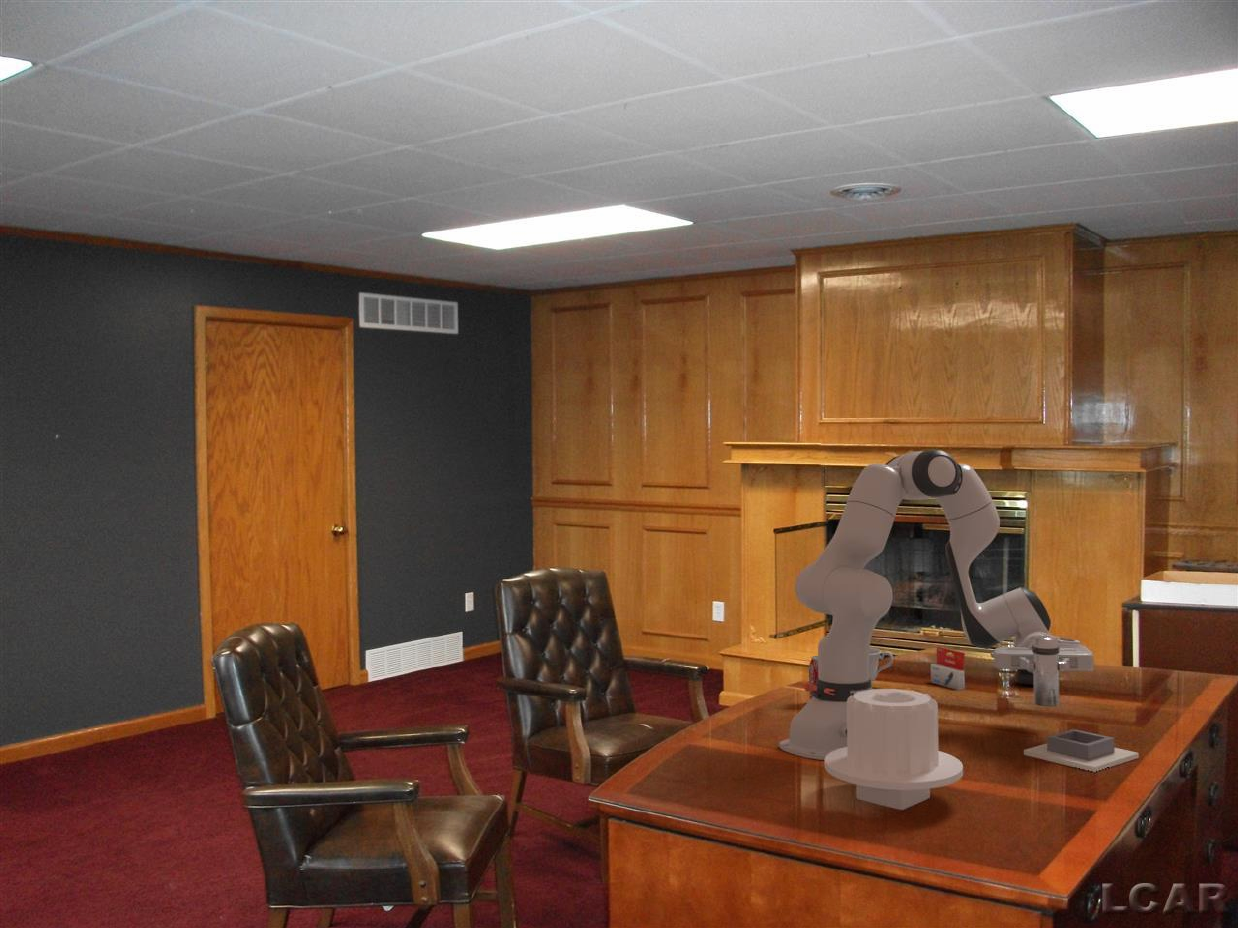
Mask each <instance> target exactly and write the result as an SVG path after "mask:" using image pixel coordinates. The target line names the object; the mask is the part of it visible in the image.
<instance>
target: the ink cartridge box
mask: <svg viewBox="0 0 1238 928" xmlns="http://www.w3.org/2000/svg"><path fill="white" fill-rule="evenodd" d="M949 653H951V654H952V655H953V656H954V657H953V656H949V655H947V654H949ZM965 654H966V653H965V652H961V651H959V650H953V649H948V648H945V647H940V646H936V663H930V683H932V684H936V685H939V686H942V687H945V688H948V689H949V688H950V689H954V690H956V691H961V690H965V688H966V685H965V683H966V682H965V681H966V679H965V657H966V656H965Z"/></svg>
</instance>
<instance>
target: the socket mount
mask: <svg viewBox="0 0 1238 928" xmlns="http://www.w3.org/2000/svg"><path fill="white" fill-rule="evenodd" d="M1115 744H1116V743H1115V737H1112V736H1106V735H1103V734H1102V735H1101V734H1098V733H1093V732H1089V731H1084V730H1079V729H1077V728H1076V729H1075V728H1072V729H1068V730H1065V731H1061V732H1057V733H1054V734H1050V735H1047V736H1046V743H1043V744H1040V745H1037V746H1033V747H1029V748H1027V749H1023V755H1024V756H1028V757H1030V758H1035V759H1040V760H1044V761H1048V762H1052V763H1056V764H1060V765H1064V766H1067V767H1072V768H1075V767H1076V769H1079V768H1080V770H1083V769H1084V771H1088V770H1089V771H1088V772H1091V771H1092V772H1091V773H1097V772H1100V771H1103V770H1106V769H1108V768H1107V767H1109V768H1112V767H1116V766H1118V765H1121V764H1124V763H1127V762H1131V761H1133V760H1137V759H1139V758H1140V757H1139V754H1140V753H1139V752H1135V751H1131V750H1127V749H1122V748H1118V747H1115V746H1116V745H1115ZM1105 768H1106V769H1105ZM1102 769H1103V770H1102ZM1099 770H1100V771H1099ZM1096 771H1097V772H1096Z"/></svg>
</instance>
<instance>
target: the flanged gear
mask: <svg viewBox="0 0 1238 928" xmlns="http://www.w3.org/2000/svg"><path fill="white" fill-rule="evenodd" d="M824 769H825V771H826V772H827V773H828V774H829V775H831V777H834V778H836V779H838V780H841V781H843V782H847V783H850V784H853V785H856V786H855V787H856V792H855V793H856V799H857V800H859V801H861V802H867V803H871V804H874V805H878V806H883V807H886V808H890V809H894V810H899V811H904V810H907V809H909V808H911V807H913V806H916V805H918V804H919V803H922V802H924V801H926V800H928V799H930V798H931V789H935V788H940V787H945V786H949V785H952V784H954V783H956V782H958V781H959V780H961V779H962V778H963V775H964V765H963V763H962V761H960V759H958V758H957V757H955V756H954V755H951V754H949V753H947V752H943V751H940V750H939V706H938V703H937V701H936V699H935V698H932V696H931V695H930V694H927V693H926V694H925V693H923V692H919V691H918V692H917V691H915V690H907V689H897V688H881V689H880V688H876V689H874V688H872V690H866V691H862V692H858V691H857V692H856V693H855V694H854V695H853V696H850V697H849V698H848V699H847V747H844V748H840V749H837V750H834V751H832V752H830V753H829V754H827V755H826V757H825V760H824Z"/></svg>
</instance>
